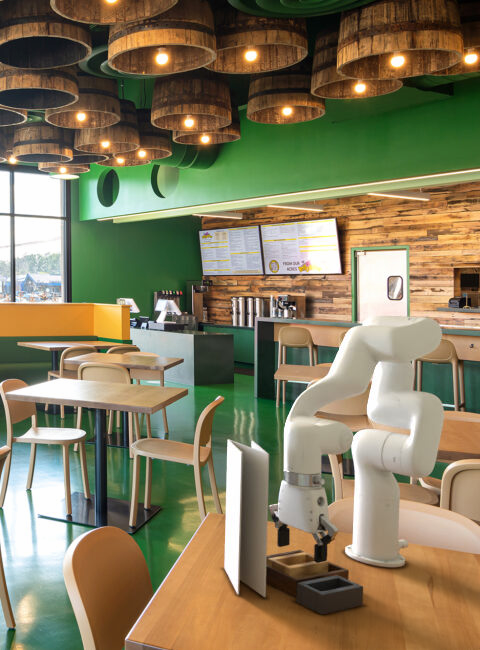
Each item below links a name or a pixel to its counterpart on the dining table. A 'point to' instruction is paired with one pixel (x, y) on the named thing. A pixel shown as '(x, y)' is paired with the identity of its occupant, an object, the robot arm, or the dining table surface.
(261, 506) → the brochure
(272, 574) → the holder
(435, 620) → the dining table surface
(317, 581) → the frame low
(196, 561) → the dining table surface
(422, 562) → the dining table surface
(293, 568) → the frame top
